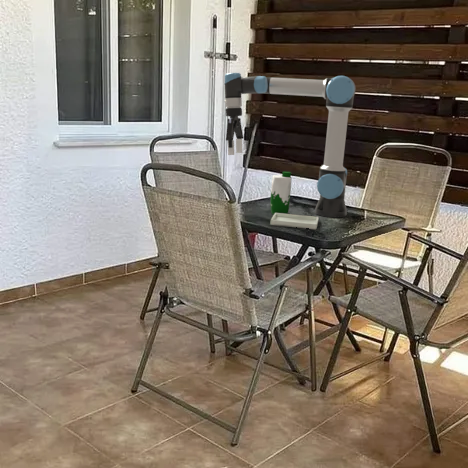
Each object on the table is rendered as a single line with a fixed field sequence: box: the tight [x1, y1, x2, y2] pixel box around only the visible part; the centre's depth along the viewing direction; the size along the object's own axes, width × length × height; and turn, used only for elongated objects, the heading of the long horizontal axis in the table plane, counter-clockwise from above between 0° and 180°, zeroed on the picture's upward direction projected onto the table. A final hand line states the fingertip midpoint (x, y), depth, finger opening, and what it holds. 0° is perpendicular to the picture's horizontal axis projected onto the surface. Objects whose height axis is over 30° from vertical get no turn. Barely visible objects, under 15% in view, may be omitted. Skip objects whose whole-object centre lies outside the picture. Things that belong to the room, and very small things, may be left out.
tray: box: [269, 213, 319, 230], centre depth 272 cm, size 20×16×2 cm
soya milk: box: [269, 171, 293, 216], centre depth 288 cm, size 9×9×20 cm
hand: (235, 153), depth 286 cm, fingers open, 13 cm apart
